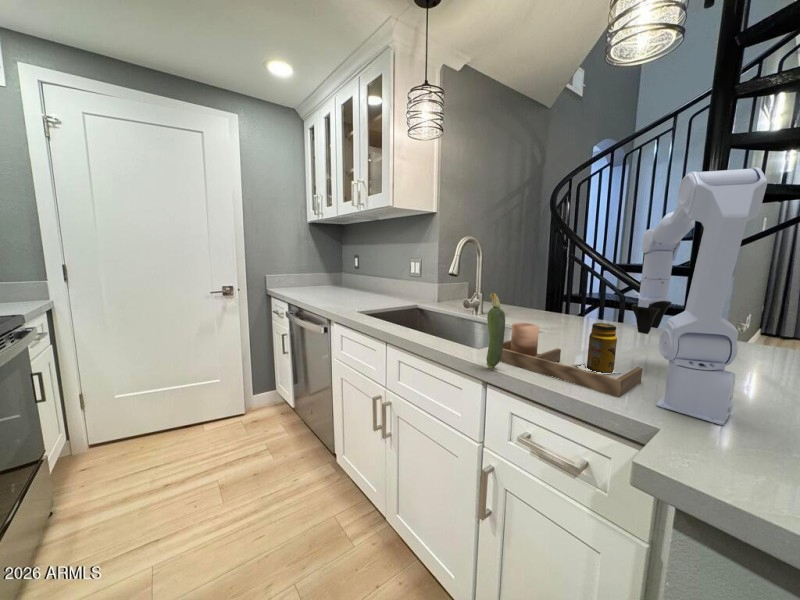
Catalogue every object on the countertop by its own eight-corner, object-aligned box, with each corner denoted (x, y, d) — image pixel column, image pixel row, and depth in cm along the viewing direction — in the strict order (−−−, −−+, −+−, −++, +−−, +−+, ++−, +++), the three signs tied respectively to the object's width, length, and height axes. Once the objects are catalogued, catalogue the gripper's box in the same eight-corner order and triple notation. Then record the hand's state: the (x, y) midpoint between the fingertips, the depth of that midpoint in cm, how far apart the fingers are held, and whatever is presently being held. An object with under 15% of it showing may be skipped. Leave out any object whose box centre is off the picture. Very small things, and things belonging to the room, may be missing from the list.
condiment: (622, 374, 82) (627, 327, 80) (591, 375, 80) (595, 328, 79) (600, 364, 89) (604, 321, 87) (572, 365, 88) (575, 322, 86)
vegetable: (500, 367, 86) (504, 291, 83) (504, 372, 82) (508, 293, 79) (483, 366, 86) (487, 291, 84) (486, 372, 82) (490, 293, 79)
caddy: (640, 382, 76) (645, 341, 75) (618, 397, 68) (623, 351, 67) (515, 349, 102) (517, 318, 101) (488, 357, 94) (489, 324, 92)
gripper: (646, 274, 90) (639, 322, 92) (626, 279, 81) (620, 332, 84) (678, 276, 84) (670, 327, 87) (661, 282, 75) (653, 338, 78)
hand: (648, 330), depth 85 cm, fingers open, 7 cm apart
